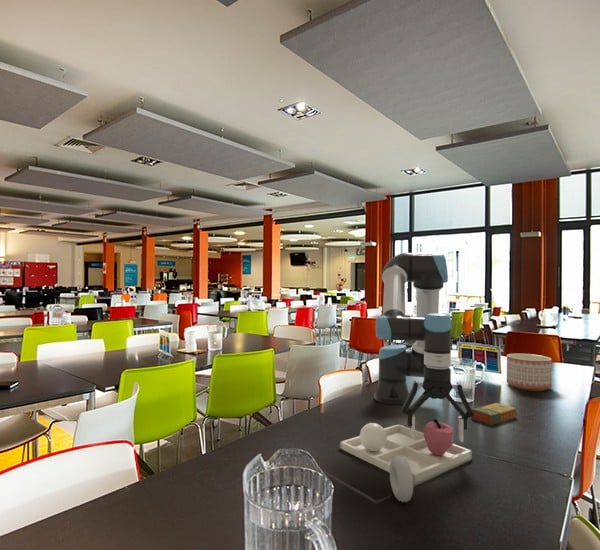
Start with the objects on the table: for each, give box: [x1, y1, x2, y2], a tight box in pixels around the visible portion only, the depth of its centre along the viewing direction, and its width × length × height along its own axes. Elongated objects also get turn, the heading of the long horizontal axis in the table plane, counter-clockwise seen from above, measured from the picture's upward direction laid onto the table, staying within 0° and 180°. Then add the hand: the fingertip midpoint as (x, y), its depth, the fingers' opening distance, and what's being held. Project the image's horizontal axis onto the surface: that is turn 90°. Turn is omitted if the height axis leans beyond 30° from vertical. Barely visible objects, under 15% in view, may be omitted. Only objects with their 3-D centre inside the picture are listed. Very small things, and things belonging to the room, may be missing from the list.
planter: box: [506, 353, 553, 392], centre depth 205 cm, size 19×19×15 cm
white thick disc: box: [389, 455, 414, 503], centre depth 99 cm, size 10×4×10 cm, turn 5°
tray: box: [339, 423, 473, 486], centre depth 124 cm, size 27×27×2 cm
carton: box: [470, 402, 517, 426], centre depth 158 cm, size 8×16×4 cm, turn 123°
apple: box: [422, 418, 455, 456], centre depth 123 cm, size 10×9×10 cm
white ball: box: [359, 422, 387, 452], centre depth 125 cm, size 8×8×8 cm
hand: (436, 438), depth 123 cm, fingers open, 13 cm apart
